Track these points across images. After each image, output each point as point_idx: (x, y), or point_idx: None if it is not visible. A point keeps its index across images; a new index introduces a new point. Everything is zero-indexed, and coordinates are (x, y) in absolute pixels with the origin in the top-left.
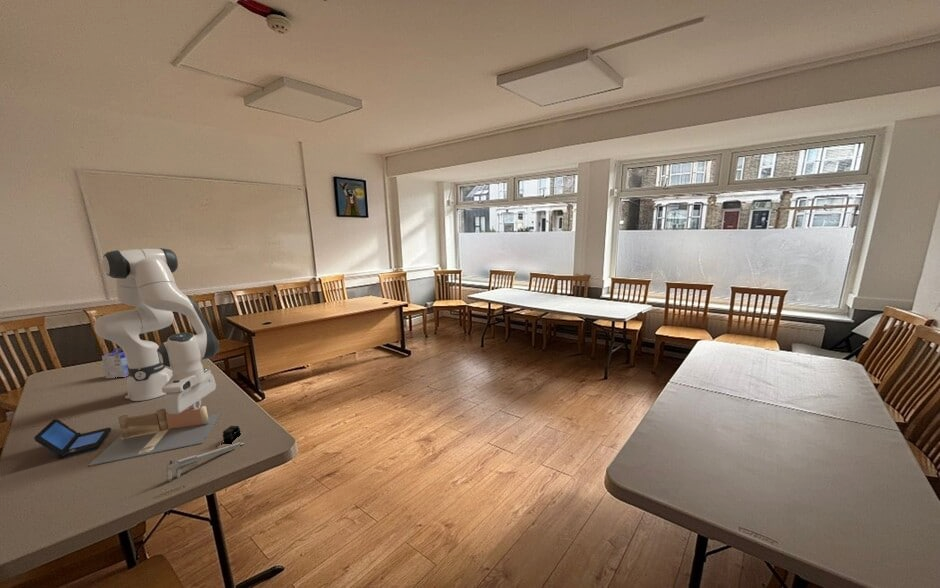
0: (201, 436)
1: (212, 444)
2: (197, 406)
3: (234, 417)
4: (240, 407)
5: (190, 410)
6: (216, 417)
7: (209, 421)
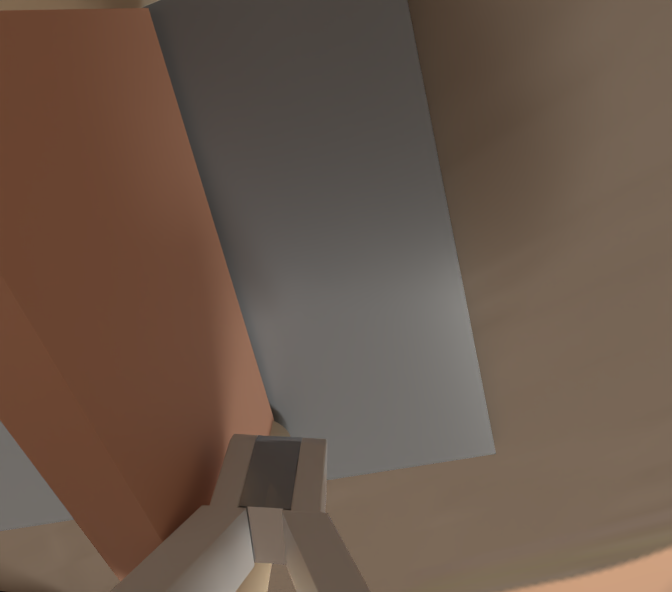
0: (49, 498)
1: (4, 571)
2: (293, 579)
3: (387, 550)
4: (603, 526)
5: (111, 567)
6: (400, 454)
7: (315, 435)
